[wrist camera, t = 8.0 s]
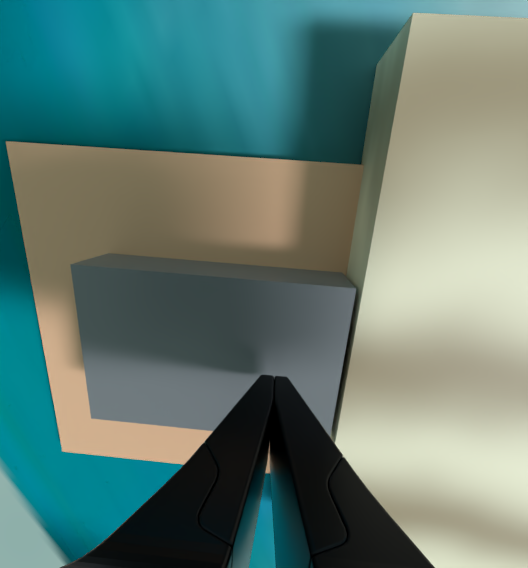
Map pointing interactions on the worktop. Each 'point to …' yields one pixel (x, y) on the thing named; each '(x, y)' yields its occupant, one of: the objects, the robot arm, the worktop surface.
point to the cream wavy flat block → (444, 292)
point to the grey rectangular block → (206, 336)
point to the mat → (162, 247)
